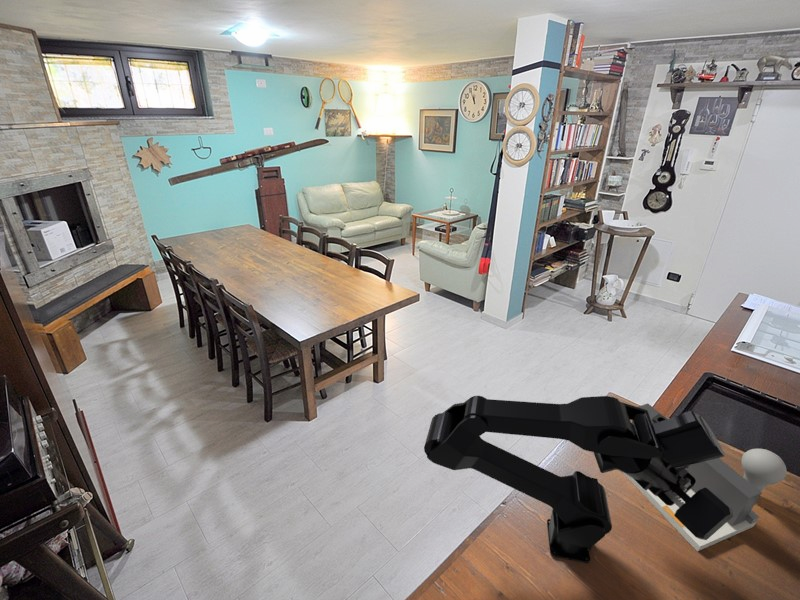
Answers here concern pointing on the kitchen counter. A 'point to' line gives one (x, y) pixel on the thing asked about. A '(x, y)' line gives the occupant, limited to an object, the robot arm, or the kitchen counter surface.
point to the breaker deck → (697, 543)
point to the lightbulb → (763, 468)
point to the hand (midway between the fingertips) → (676, 484)
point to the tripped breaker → (726, 487)
